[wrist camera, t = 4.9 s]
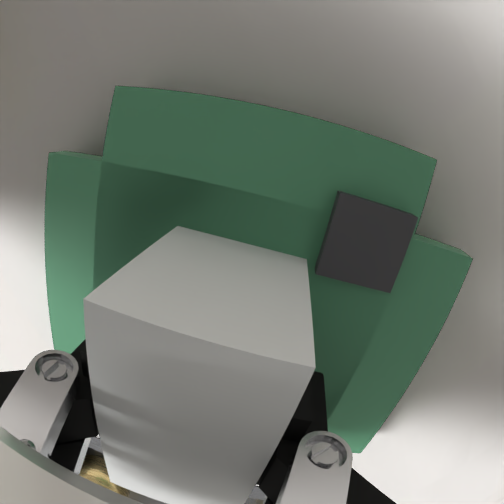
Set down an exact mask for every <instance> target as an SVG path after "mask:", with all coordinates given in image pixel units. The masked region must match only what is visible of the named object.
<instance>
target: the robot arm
mask: <svg viewBox="0 0 504 504" xmlns="http://www.w3.org/2000/svg"><path fill="white" fill-rule="evenodd" d="M98 434H99V432H98V427H97V422H96V416H95V410H94V404H93V398H92V392H91V384H90V377H89V369H88V360H87V350H86V339H85V340H84V341H83V342H82V343H81V344H80V345H79V346H78V347H77V348H76V349H75V350H74V351H73V352H72V353H71V354H69V353H67V352H64V351H60V350H47V351H43V352H41V353H39V354H37V355H36V356H35V357H34V358H33V359H32V361H31V362H30V364H29V365H28V366H27V368H26V369H25V370H19V371H8V372H0V504H144V503H141V502H138V501H136V500H133V499H131V498H128V497H126V496H123V495H121V494H118V493H116V492H114V491H111V490H109V489H107V488H105V487H102V486H100V485H98V484H96V483H94V482H92V481H90V480H88V479H86V478H84V477H82V476H80V475H79V474H80V471H81V468H82V464H83V461H84V458H85V455H86V452H87V449H88V446H89V443H90V440H91V437H96V436H97V435H98ZM352 459H353V457H352V450H351V448H350V446H349V445H348V443H347V442H346V441H345V440H344V439H343V438H341V437H340V436H338V435H336V434H334V433H331V432H328V425H327V410H326V397H325V384H324V375H323V373H321V372H316V371H314V372H313V375H312V377H311V379H310V381H309V383H308V385H307V388H306V390H305V392H304V394H303V396H302V398H301V400H300V402H299V404H298V406H297V408H296V411H295V413H294V415H293V417H292V419H291V421H290V423H289V424H288V426H287V428H286V430H285V432H284V434H283V436H282V438H281V440H280V442H279V444H278V446H277V447H276V449H275V451H274V453H273V455H272V457H271V459H270V460H269V462H268V464H267V466H266V468H265V469H264V471H263V473H262V475H261V476H260V478H259V480H258V482H257V483H256V484H258V485H259V488H260V489H261V490H262V492H263V493H264V494H265V495H266V496H265V499H264V501H263V504H396V503H395V502H394V501H392V500H391V499H390V498H388V497H387V496H386V495H385V494H383V493H382V492H381V491H379V490H378V489H377V488H376V487H374V486H373V485H372V484H371V483H370V482H368V481H367V480H366V479H365V478H363V477H362V476H361V475H360V474H359V473H357V472H356V471H355V470H354V469H353V468H351V467H352Z"/></svg>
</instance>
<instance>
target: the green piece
mask: <svg viewBox="0 0 504 504" xmlns="http://www.w3.org/2000/svg"><path fill="white" fill-rule="evenodd" d="M436 162H437V160H436V159H434V158H431V157H429V156H427V155H424V154H422V153H419V152H417V151H414V150H412V149H409V148H406V147H404V146H401V145H398V144H396V143H393V142H390V141H387V140H384V139H382V138H379V137H376V136H373V135H370V134H367V133H364V132H361V131H358V130H355V129H351V128H348V127H345V126H342V125H338V124H335V123H331V122H328V121H324V120H321V119H317V118H313V117H310V116H306V115H302V114H298V113H294V112H290V111H286V110H281V109H277V108H273V107H268V106H264V105H259V104H254V103H249V102H244V101H239V100H233V99H228V98H222V97H216V96H209V95H203V94H196V93H189V92H181V91H172V90H163V89H153V88H142V87H129V86H115V90H114V95H113V100H112V104H111V109H110V114H109V120H108V125H107V131H106V137H105V143H104V149H103V156H96V155H90V154H84V153H77V152H71V151H59V152H50V153H49V157H48V168H47V180H46V197H45V267H46V283H47V296H48V306H49V315H50V323H51V331H52V338H53V344H54V350H60V351H64V352H67V353H69V354H71V353H72V352H73V351H74V350H75V349H76V348H77V347H78V346H79V345H80V344H81V343H82V342H83V341H84V340H85V339H86V350H87V360H88V369H89V377H90V384H91V392H92V398H93V404H94V410H95V416H96V422H97V427H98V432H99V437H100V442H101V446H102V451H103V455H104V459H105V463H106V467H107V471H108V475H109V479H110V482H112V483H114V484H116V485H119V486H121V487H123V488H126V489H128V490H131V491H133V492H136V493H139V494H141V495H144V496H147V497H149V498H152V499H155V500H158V501H161V502H164V503H167V504H244V503H245V502H246V500H247V498H248V497H249V495H250V493H251V492H252V490H253V488H254V487H255V485H256V483H257V482H258V480H259V478H260V476H261V475H262V473H263V471H264V469H265V468H266V466H267V464H268V462H269V460H270V459H271V457H272V455H273V453H274V451H275V449H276V447H277V446H278V444H279V442H280V440H281V438H282V436H283V434H284V432H285V430H286V428H287V426H288V424H289V423H290V421H291V419H292V417H293V415H294V413H295V411H296V408H297V406H298V404H299V402H300V400H301V398H302V396H303V394H304V392H305V390H306V388H307V385H308V383H309V381H310V379H311V377H312V375H313V372H314V371H316V372H321V373H323V375H324V384H325V397H326V410H327V425H328V432H331V433H334V434H336V435H338V436H340V437H341V438H343V439H344V440H345V441H346V442H347V443H348V445H349V446H350V448H351V450H352V453H361V452H362V451H363V449H364V448H365V447H366V446H367V444H368V443H369V442H370V441H371V439H372V438H373V437H374V435H375V434H376V433H377V431H378V430H379V429H380V427H381V426H382V424H383V423H384V422H385V420H386V419H387V418H388V416H389V415H390V413H391V412H392V410H393V409H394V408H395V406H396V405H397V403H398V402H399V400H400V399H401V397H402V396H403V394H404V393H405V391H406V389H407V388H408V386H409V385H410V383H411V381H412V380H413V378H414V377H415V375H416V373H417V372H418V370H419V368H420V367H421V365H422V363H423V362H424V360H425V358H426V356H427V355H428V353H429V351H430V349H431V347H432V346H433V344H434V342H435V340H436V338H437V336H438V334H439V333H440V331H441V329H442V327H443V325H444V323H445V321H446V319H447V317H448V315H449V313H450V311H451V308H452V306H453V304H454V302H455V300H456V298H457V296H458V293H459V291H460V289H461V287H462V284H463V282H464V280H465V277H466V275H467V272H468V270H469V267H470V265H471V262H472V260H473V258H471V257H470V256H469V255H467V254H466V253H465V252H463V251H462V250H461V249H458V248H455V247H452V246H450V245H447V244H444V243H441V242H438V241H435V240H432V239H429V238H426V237H423V236H420V235H417V234H415V232H416V229H417V226H418V223H419V220H420V217H421V214H422V211H423V208H424V204H425V201H426V198H427V194H428V191H429V188H430V184H431V180H432V177H433V173H434V169H435V166H436Z"/></svg>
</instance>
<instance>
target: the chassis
mask: <svg viewBox="0 0 504 504" xmlns="http://www.w3.org/2000/svg"><path fill="white" fill-rule="evenodd" d="M79 475H80V476H82V477H84V478H86V479H88V480H90V481H92V482H94V483H96V484H98V485H100V486H102V487H105V488H107V489H109V490H111V491H114V492H116V493H118V494H121V495H123V496H126V497H128V498H131V499H133V500H136V501H138V502H141V503H144V504H167V503H164V502H161V501H158V500H155V499H152V498H149V497H147V496H144V495H141V494H139V493H136V492H133V491H131V490H128V489H126V488H123V487H121V486H119V485H116V484H114V483H112V482H110V479H109V475H108V471H107V467H106V463H105V459H104V455H103V451H102V446H101V442H100V439H99V438H96V437H91V440H90V443H89V446H88V449H87V452H86V455H85V458H84V461H83V464H82V468H81V471H80V474H79ZM265 496H266V495H265V494H264V493H263V492H262V490H261V489H260V488H259V487H257V486H255V487H254V488H253V490H252V492H251V493H250V495H249V497H248V498H247V500H246V502H245V503H244V504H263V501H264V499H265Z"/></svg>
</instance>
